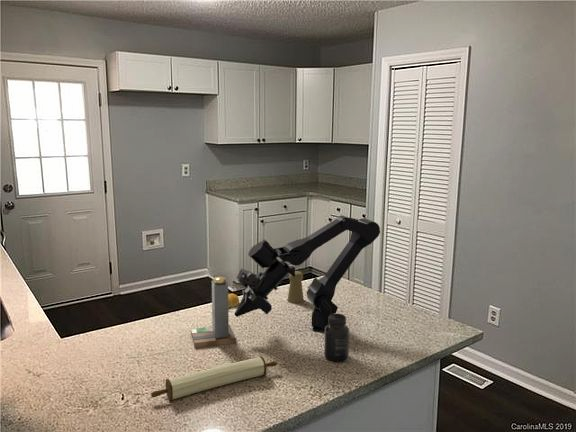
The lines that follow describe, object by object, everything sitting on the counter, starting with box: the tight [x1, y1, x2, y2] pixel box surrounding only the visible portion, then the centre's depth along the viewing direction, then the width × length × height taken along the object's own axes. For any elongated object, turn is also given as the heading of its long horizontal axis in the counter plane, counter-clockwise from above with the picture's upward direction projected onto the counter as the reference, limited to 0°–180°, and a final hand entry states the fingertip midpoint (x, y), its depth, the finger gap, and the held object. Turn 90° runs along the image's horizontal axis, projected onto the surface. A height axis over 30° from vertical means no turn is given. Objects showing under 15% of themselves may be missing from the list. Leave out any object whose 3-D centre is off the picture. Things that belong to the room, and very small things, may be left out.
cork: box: [286, 270, 305, 305], centre depth 172 cm, size 6×6×11 cm
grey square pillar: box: [211, 276, 230, 338], centre depth 140 cm, size 4×9×17 cm, turn 17°
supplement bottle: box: [323, 313, 350, 363], centre depth 130 cm, size 7×7×12 cm
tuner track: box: [190, 324, 237, 349], centre depth 142 cm, size 12×10×2 cm
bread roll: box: [228, 293, 240, 309], centre depth 169 cm, size 8×9×4 cm
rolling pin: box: [150, 355, 278, 402], centre depth 115 cm, size 32×6×5 cm, turn 118°
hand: (235, 315), depth 140 cm, fingers closed
